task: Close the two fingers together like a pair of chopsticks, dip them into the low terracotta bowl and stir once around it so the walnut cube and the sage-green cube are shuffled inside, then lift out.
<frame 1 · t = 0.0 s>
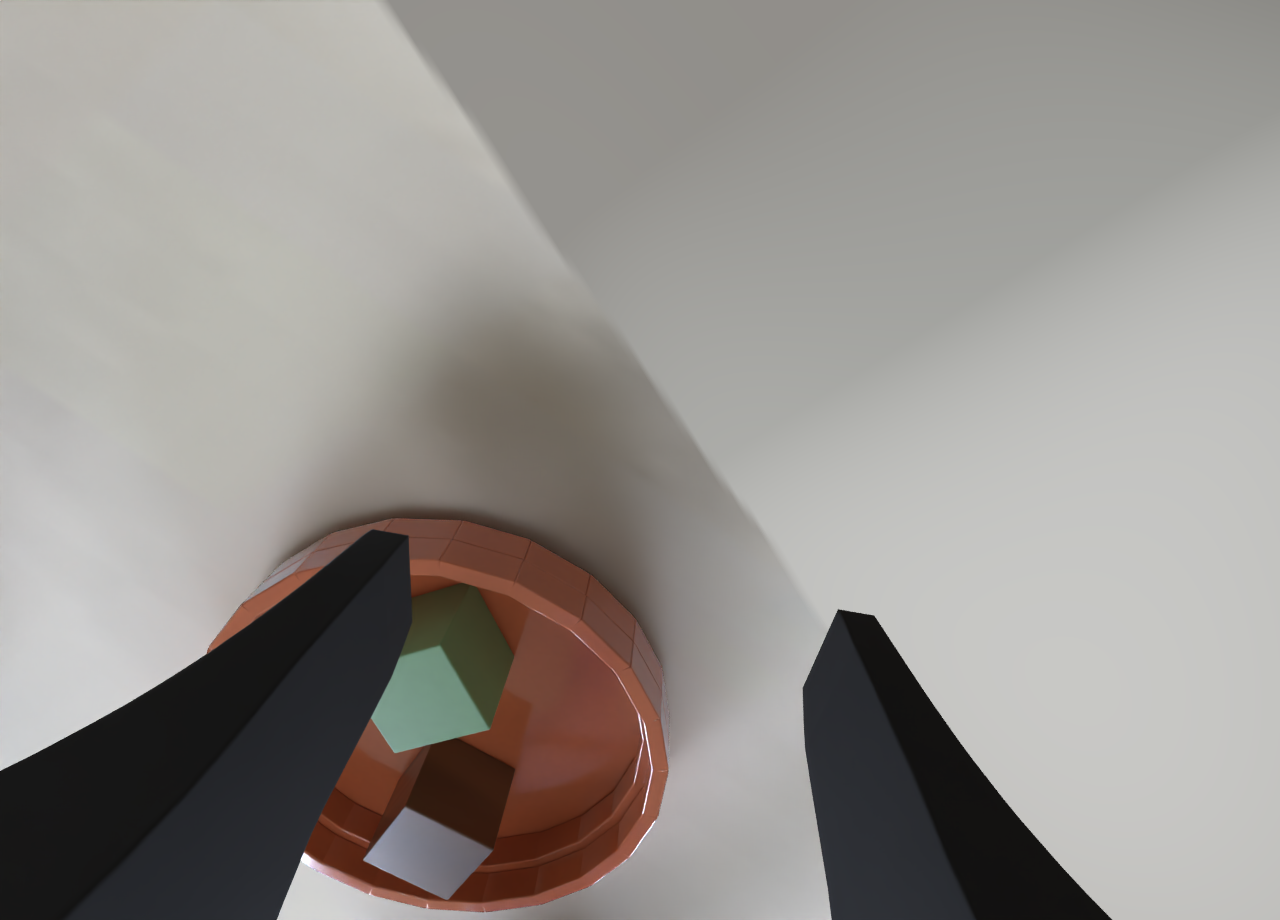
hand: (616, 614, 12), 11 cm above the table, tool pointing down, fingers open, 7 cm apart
sage-green cube: (450, 630, 24), resting on bowl
walnut cube: (456, 774, 27), resting on bowl
bowl: (457, 696, 26), on the table
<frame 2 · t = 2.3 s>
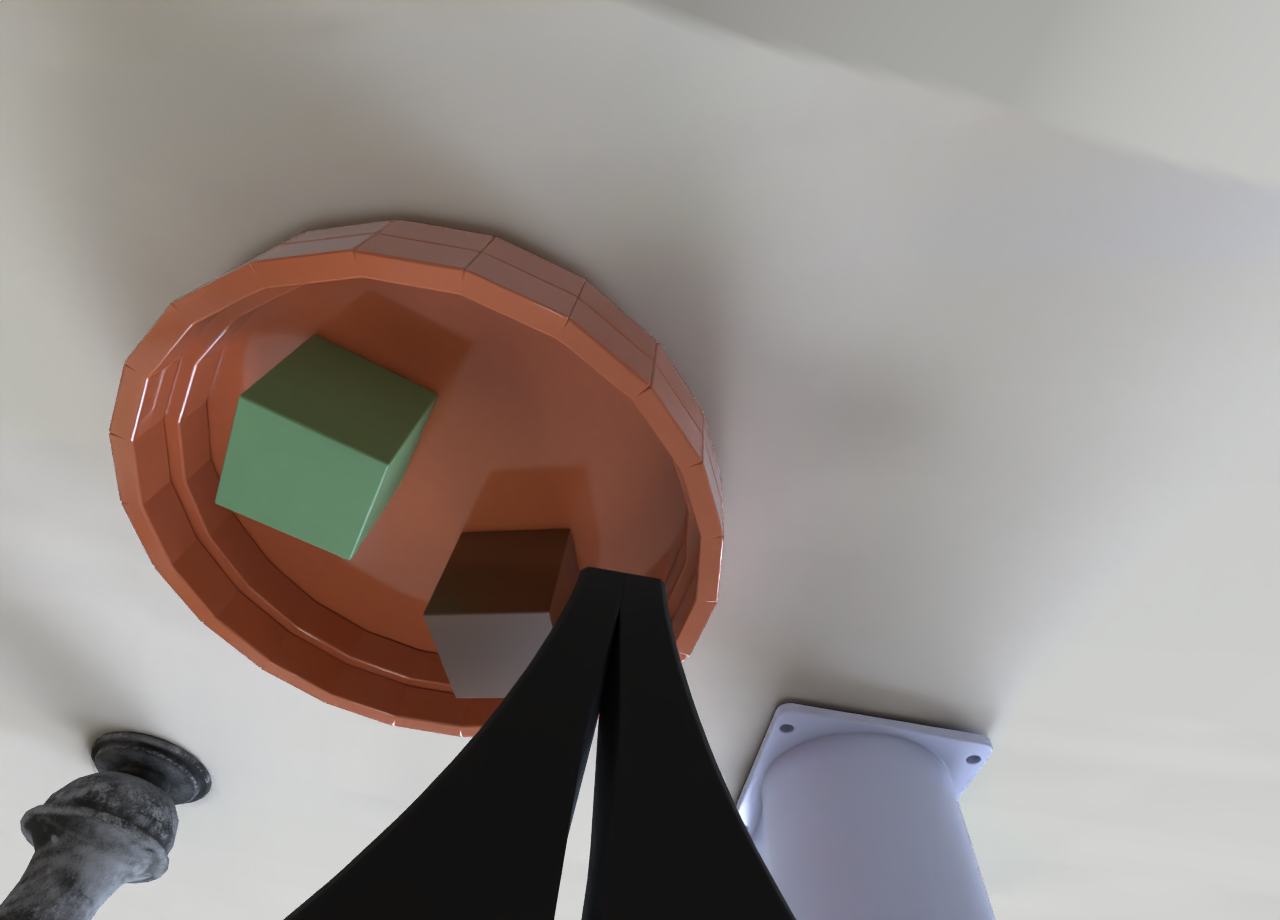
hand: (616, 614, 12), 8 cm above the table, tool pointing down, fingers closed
dark grey tiered piece: (155, 763, 32), on the table
sage-green cube: (360, 412, 19), resting on bowl
walnut cube: (526, 572, 22), resting on bowl
bowl: (454, 488, 21), on the table
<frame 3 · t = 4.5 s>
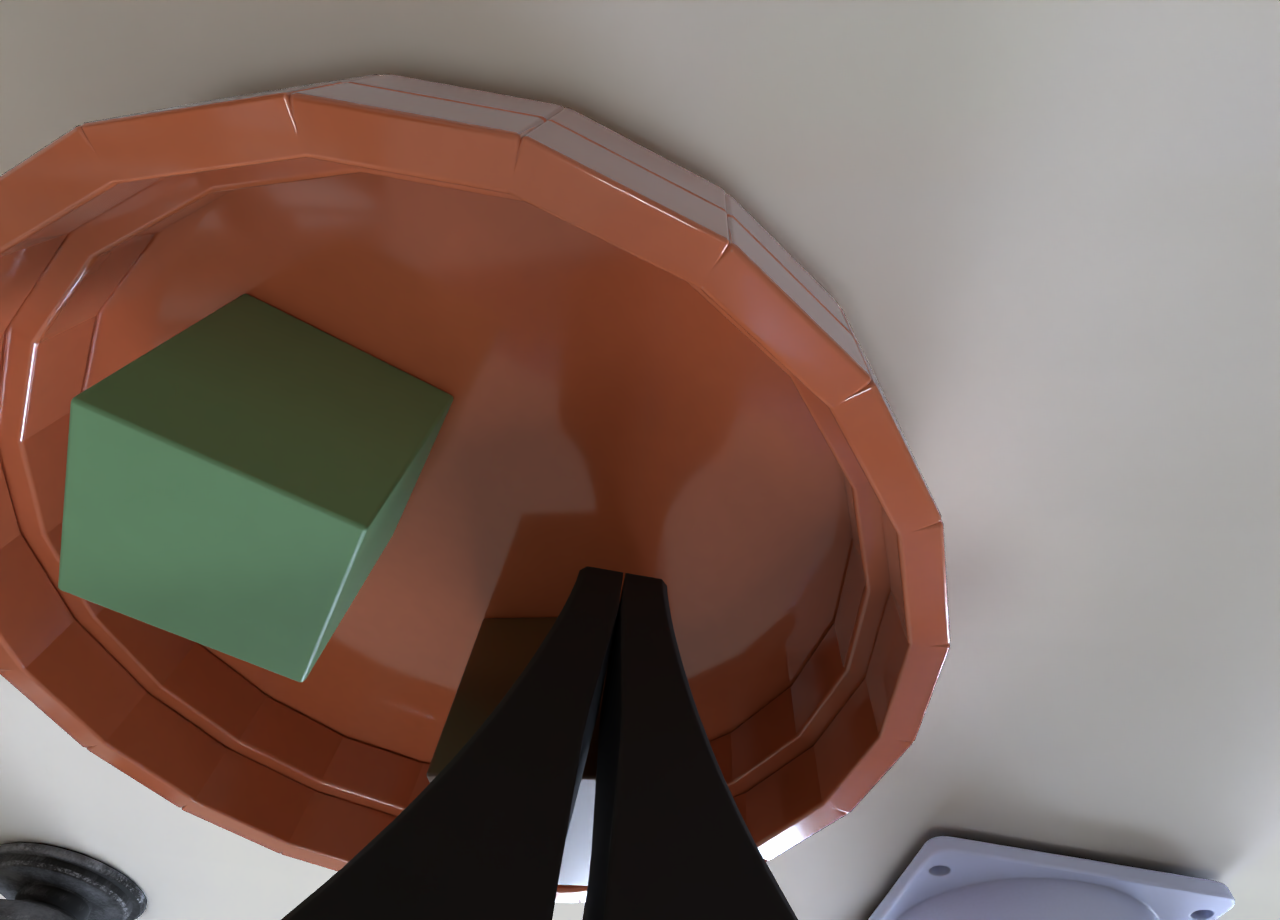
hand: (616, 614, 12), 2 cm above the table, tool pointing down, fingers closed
dark grey tiered piece: (73, 877, 24), on the table
sage-green cube: (326, 425, 12), resting on bowl
walnut cube: (578, 673, 15), point 1 cm above the table, touching gripper
bowl: (475, 541, 14), on the table
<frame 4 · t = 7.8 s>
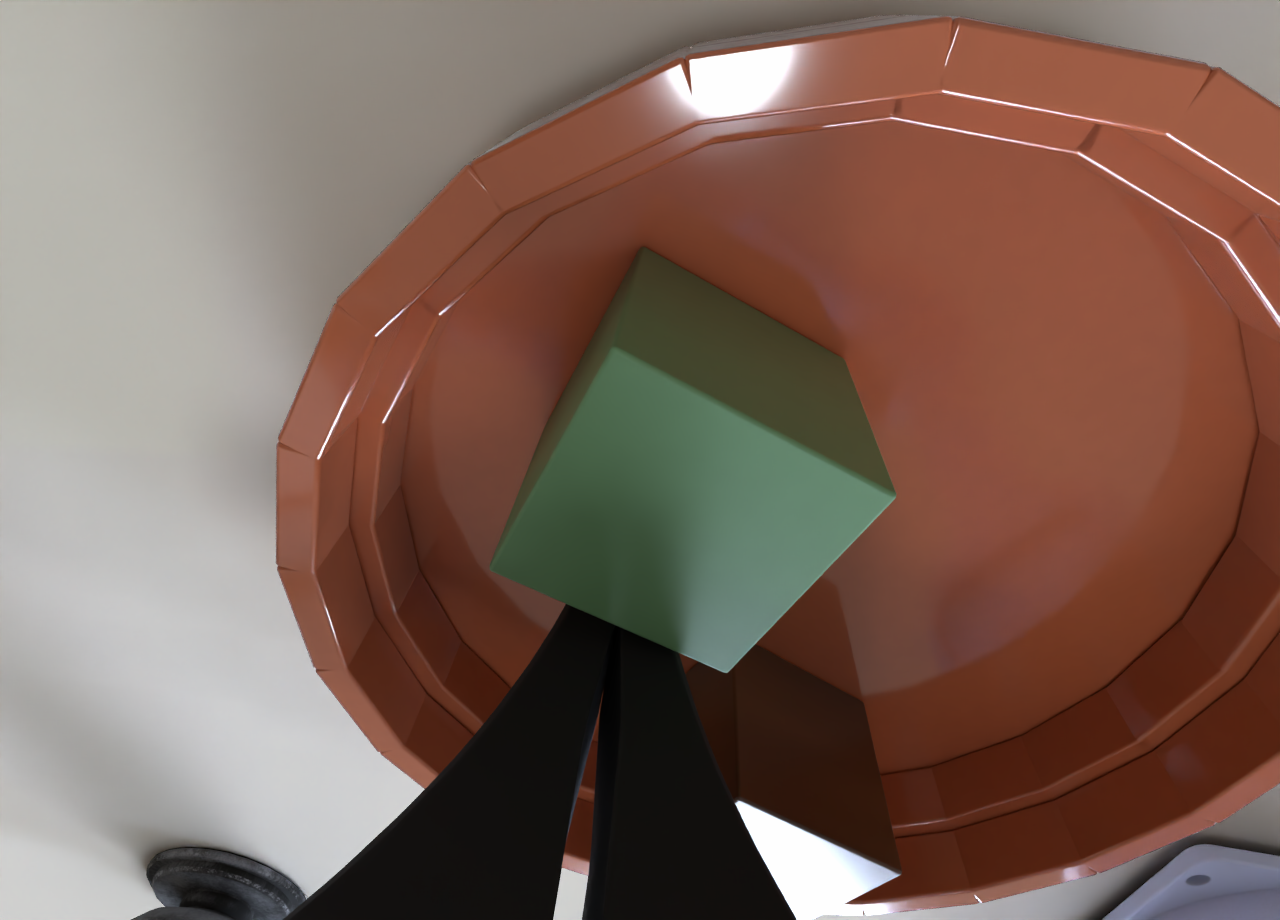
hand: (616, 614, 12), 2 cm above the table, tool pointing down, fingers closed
dark grey tiered piece: (232, 883, 23), on the table
sage-green cube: (687, 395, 11), point 1 cm above the table, touching gripper
walnut cube: (747, 708, 15), point 1 cm above the table, touching bowl
bowl: (791, 533, 13), on the table
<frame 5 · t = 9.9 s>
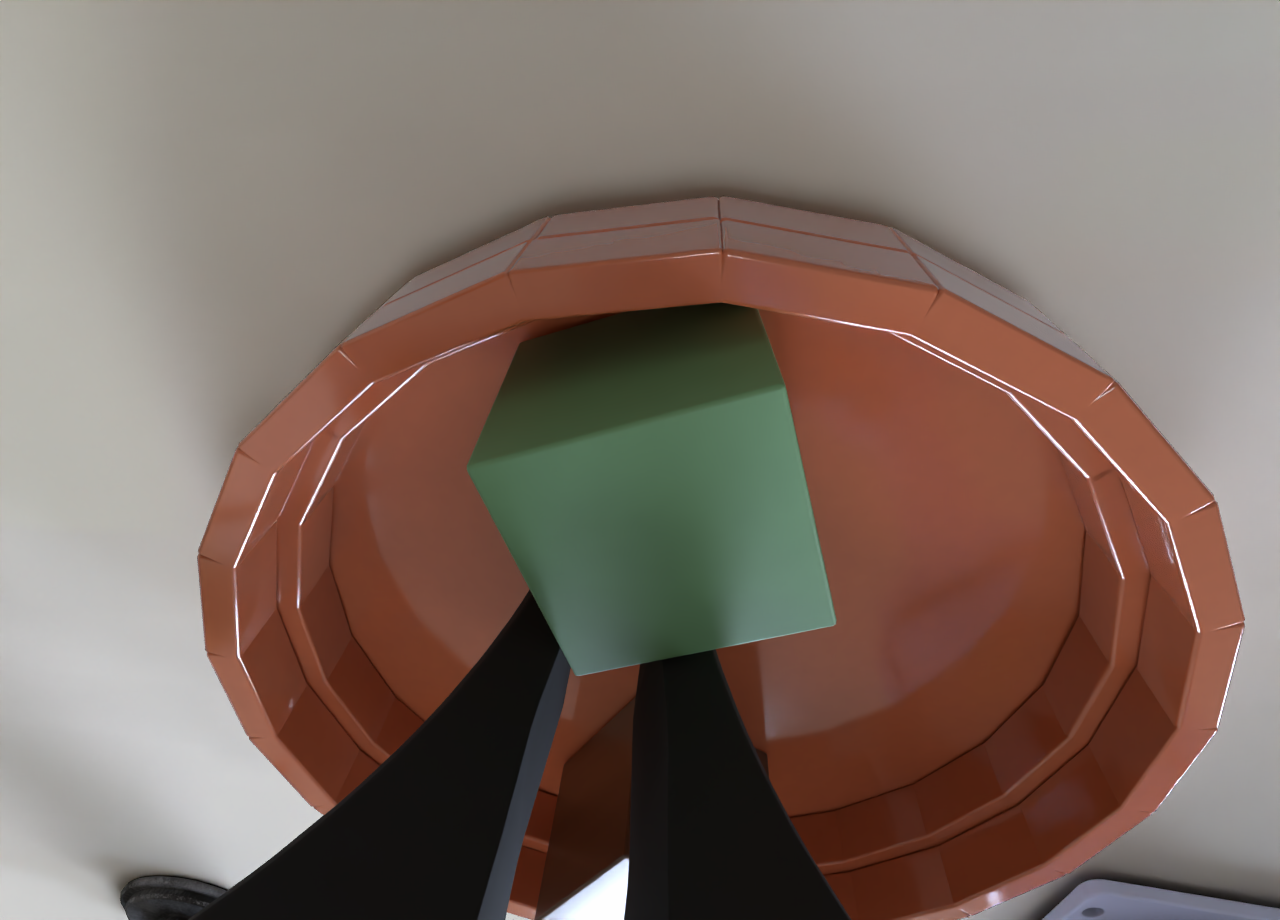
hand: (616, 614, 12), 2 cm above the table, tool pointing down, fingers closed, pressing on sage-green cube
dark grey tiered piece: (202, 907, 25), on the table
sage-green cube: (662, 410, 11), point 1 cm above the table, touching bowl, gripper
walnut cube: (662, 758, 16), point 1 cm above the table, touching bowl
bowl: (689, 605, 14), on the table
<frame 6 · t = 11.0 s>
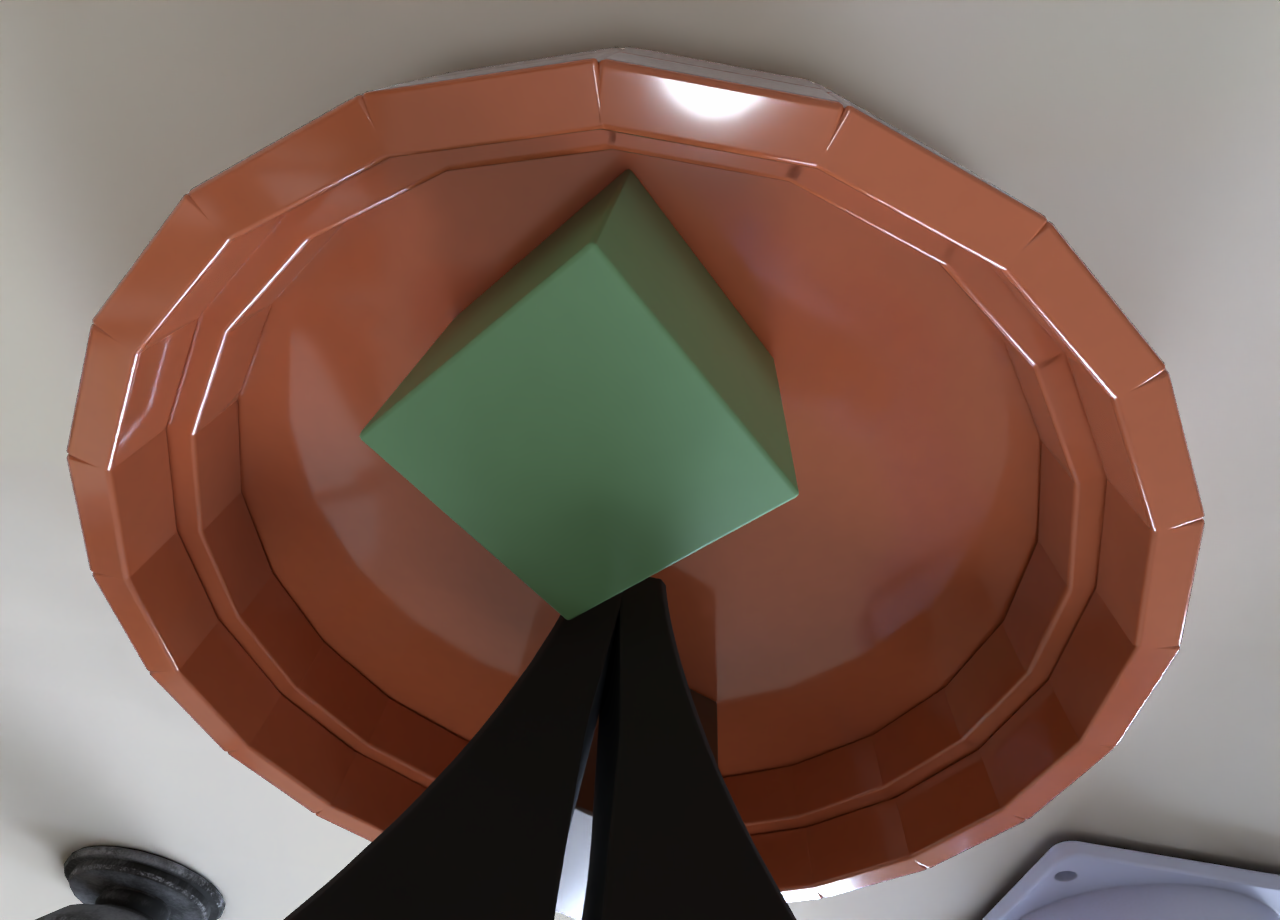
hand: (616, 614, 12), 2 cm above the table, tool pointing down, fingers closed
dark grey tiered piece: (150, 881, 24), on the table
sage-green cube: (614, 339, 10), point 1 cm above the table, touching bowl
walnut cube: (608, 709, 15), point 1 cm above the table, touching bowl
bowl: (627, 538, 13), on the table
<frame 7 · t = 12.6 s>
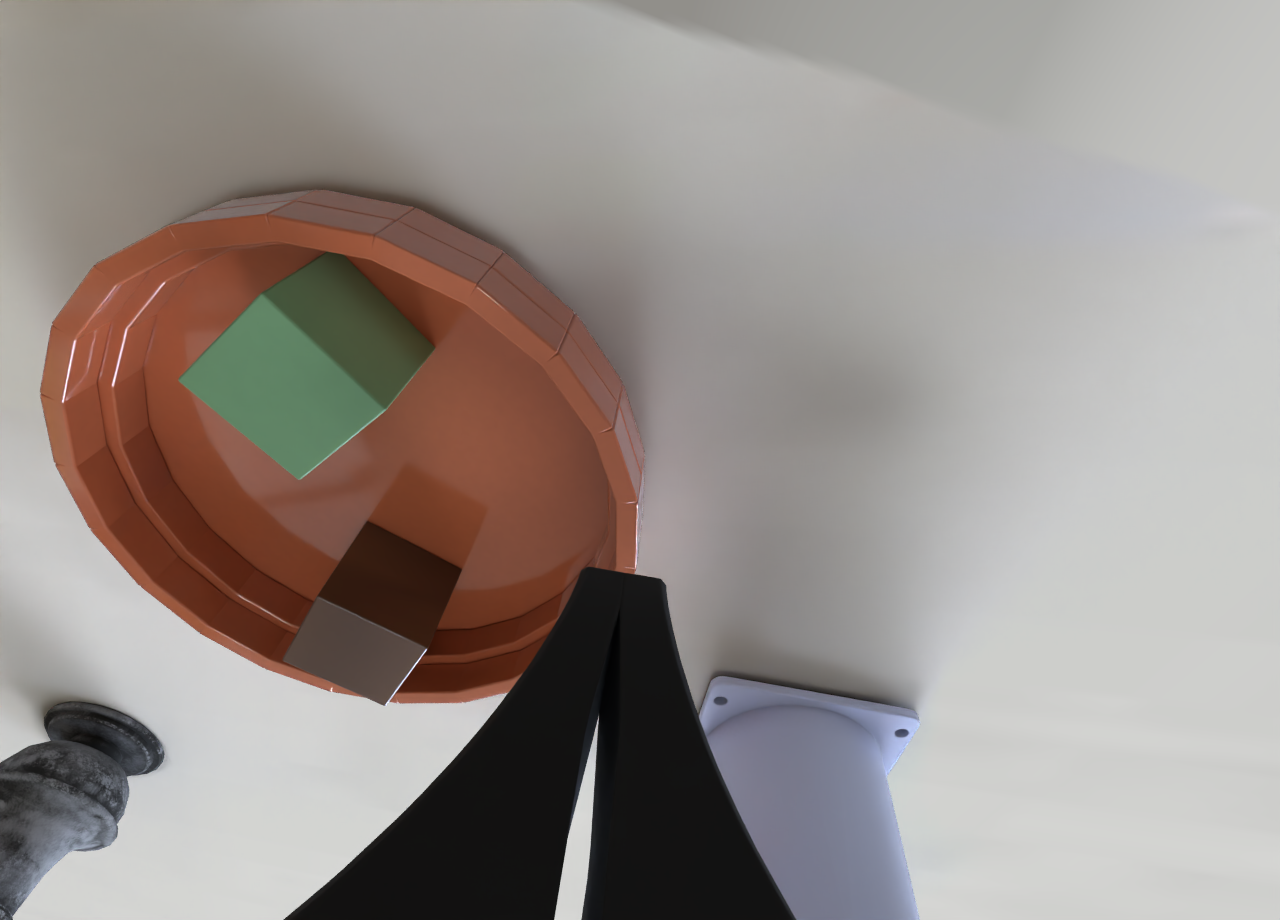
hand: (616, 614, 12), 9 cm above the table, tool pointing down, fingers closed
dark grey tiered piece: (109, 734, 32), on the table
sage-green cube: (347, 335, 19), point 1 cm above the table, touching bowl
walnut cube: (396, 575, 24), point 1 cm above the table, touching bowl
bowl: (389, 458, 22), on the table
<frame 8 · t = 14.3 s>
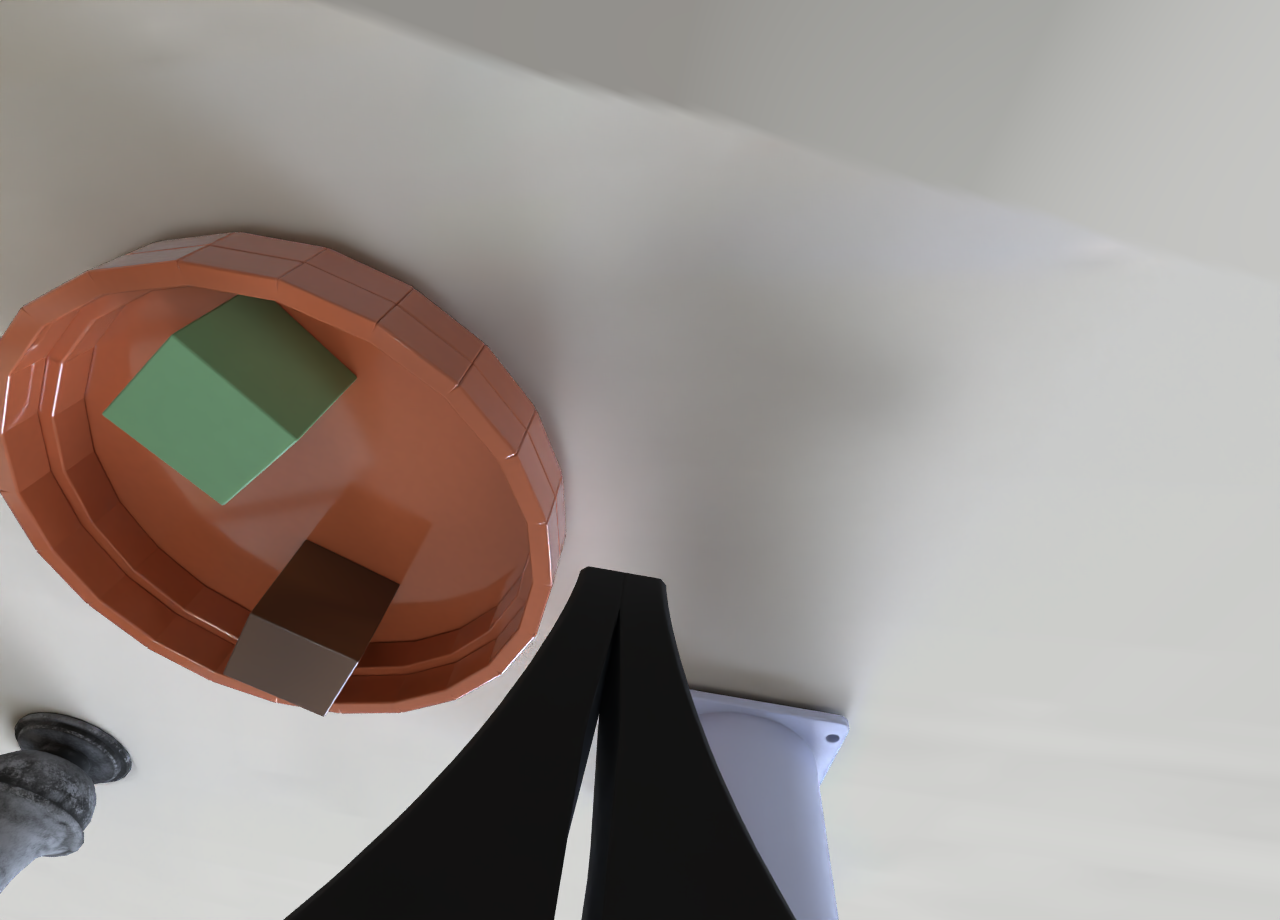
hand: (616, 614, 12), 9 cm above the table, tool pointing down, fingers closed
dark grey tiered piece: (78, 744, 33), on the table
sage-green cube: (274, 366, 20), point 1 cm above the table, touching bowl
walnut cube: (338, 590, 25), point 1 cm above the table, touching bowl
bowl: (324, 479, 23), on the table
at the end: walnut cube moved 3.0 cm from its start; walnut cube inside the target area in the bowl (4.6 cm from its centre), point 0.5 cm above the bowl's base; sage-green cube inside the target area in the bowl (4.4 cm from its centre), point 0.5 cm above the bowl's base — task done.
